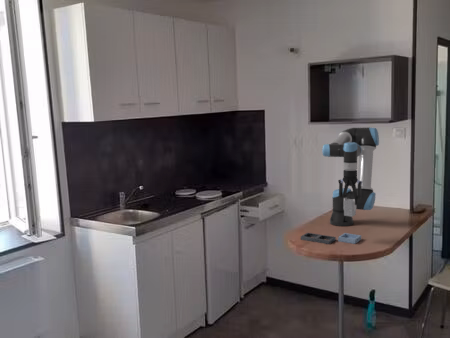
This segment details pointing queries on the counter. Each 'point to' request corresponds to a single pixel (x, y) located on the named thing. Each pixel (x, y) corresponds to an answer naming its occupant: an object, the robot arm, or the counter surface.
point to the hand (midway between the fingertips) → (349, 209)
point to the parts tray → (349, 238)
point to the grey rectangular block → (349, 208)
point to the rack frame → (318, 238)
